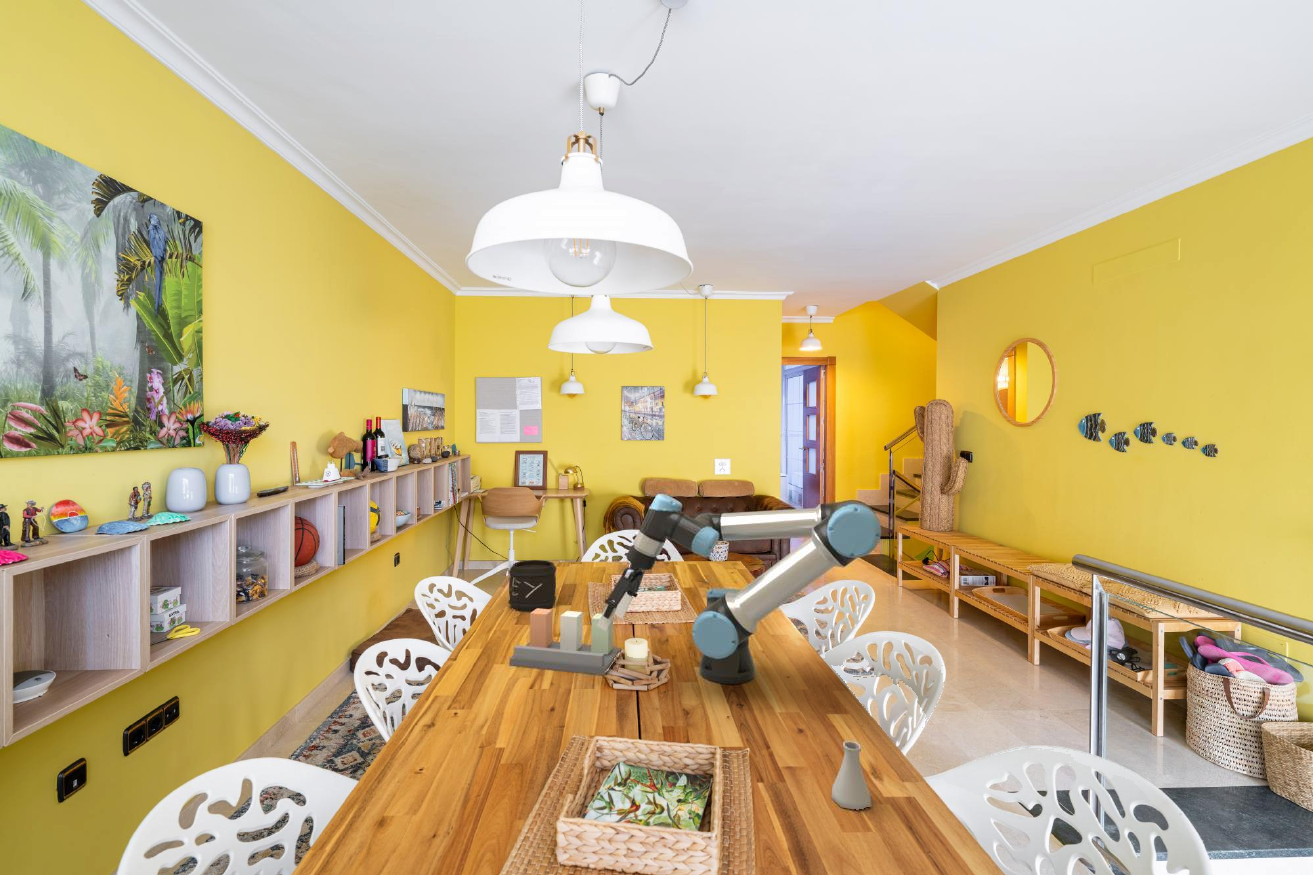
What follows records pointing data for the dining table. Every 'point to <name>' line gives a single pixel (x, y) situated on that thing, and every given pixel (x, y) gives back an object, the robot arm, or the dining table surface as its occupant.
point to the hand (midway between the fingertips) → (610, 621)
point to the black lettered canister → (532, 585)
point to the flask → (851, 780)
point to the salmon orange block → (541, 627)
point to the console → (563, 658)
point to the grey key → (571, 630)
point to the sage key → (601, 637)
